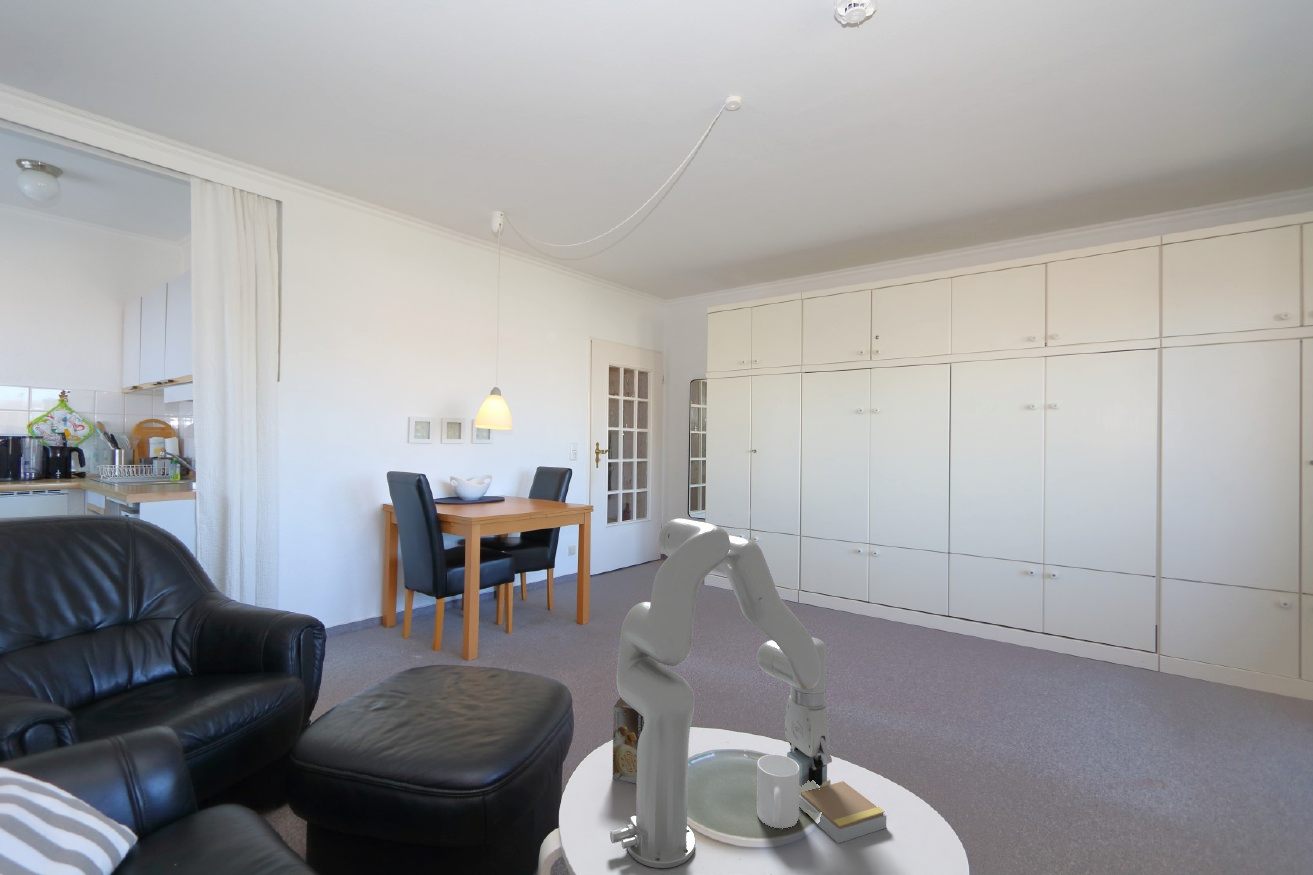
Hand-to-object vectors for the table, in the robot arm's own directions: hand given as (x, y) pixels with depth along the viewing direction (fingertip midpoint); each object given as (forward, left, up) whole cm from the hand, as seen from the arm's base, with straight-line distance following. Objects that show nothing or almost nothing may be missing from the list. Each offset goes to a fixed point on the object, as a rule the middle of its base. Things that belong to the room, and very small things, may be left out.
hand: (806, 777), depth 126 cm
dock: (-1, -12, -1) cm, 12 cm away
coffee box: (-34, +17, -2) cm, 38 cm away
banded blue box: (0, 0, -1) cm, 1 cm away
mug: (-14, -9, -2) cm, 17 cm away
